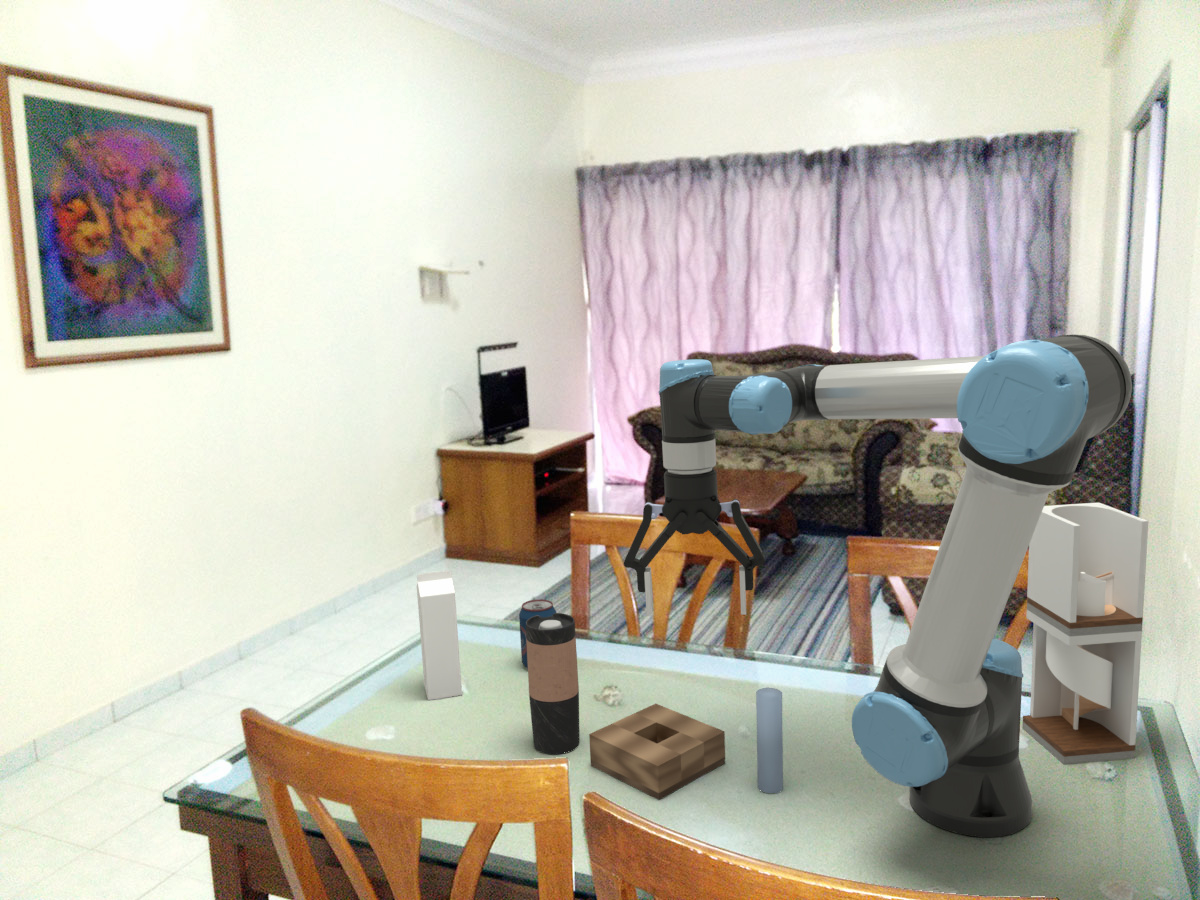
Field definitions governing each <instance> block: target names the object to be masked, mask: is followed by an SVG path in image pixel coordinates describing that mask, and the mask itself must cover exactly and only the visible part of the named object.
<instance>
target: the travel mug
mask: <svg viewBox="0 0 1200 900" xmlns="http://www.w3.org/2000/svg"><path fill="white" fill-rule="evenodd" d="M575 621H576V620H575V618H574V617H573V616H571V615H570V614H566V613H561V612H556V613H554V614H553V615H552V616H549V617H540V616H539V615H536V616H533V617H531V618H529V619H528V620H527V621H526V640H527V661H528V669H527V677H528V682H527V683H528V697H529V707H530V708H529V710H530V718H531V730H532V740H533V747H534V749H535V750H536V751H537V752H539V753H541V754H545V755H563V754H567V753H569V752H568V751H570V752H572V751H574V750H575V748H576V747H577V746H579V745H580V688H579V687H580V686H579V672H578V671H579V670H578V669H579V668H578V655H577V654H578V653H577V638H576V624H575V623H576V622H575ZM577 748H578V747H577ZM577 748H576V749H577ZM573 749H574V750H573ZM571 750H572V751H571ZM564 752H565V753H564ZM566 752H567V753H566Z"/></svg>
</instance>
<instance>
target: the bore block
mask: <svg viewBox="0 0 1200 900" xmlns="http://www.w3.org/2000/svg"><path fill="white" fill-rule="evenodd" d="M725 735H726V734H725V731H724V730H722V729H719V728H717V727H715V726H712V725H711V724H710V725H709V724H707V723H705V722H704V721H703V722H702V721H700V720H697V719H696V718H692V717H690V716H687V715H685V714H683V713H680V712H678V711H675V710H673V709H670V708H668V707H666V706H663V705H660V704H658V703H654V704H652V705H650V706H647V707H645V708H643V709H641V710H639V711H636V712H634V713H631V714H629V715H627V716H625V717H623V718H621V719H619V720H617V721H615V722H612V723H610V724H608V725H606V726H603V727H602V728H599V729H597V730H595V731H593V732H590V733H589V735H588V736H589V737H588V738H589V755H590V756H589V757H590V766H591V767H593V768H594V769H597V770H599V771H601V772H603V773H605V774H607V775H609V776H610V777H612V778H615V779H617V780H619V781H621V782H623V783H625V784H626V785H628V786H630V787H632V788H635V789H636V790H639V791H640V792H643V793H645V794H646V795H649V796H651V797H652V798H655V799H656V800H658V801H659V800H662V799H664V798H665V797H666V796H668V795H670V794H672V793H674V792H676V791H678V790H680V789H681V788H683V787H685V786H687V785H688V783H689V784H690V783H692V782H694V781H696V780H697V779H699V778H701V777H703V776H704V775H707V774H709V773H710V772H712V771H713V770H715V769H718V768H719V767H720V766H723V765H724V764H726V738H725V737H726V736H725ZM693 780H694V781H693ZM684 785H685V786H684ZM679 788H680V789H679Z"/></svg>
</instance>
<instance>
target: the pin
mask: <svg viewBox="0 0 1200 900" xmlns="http://www.w3.org/2000/svg"><path fill="white" fill-rule="evenodd" d="M755 697H756V699H755V701H756V703H755V705H756V707H755V708H756V712H755V713H756V759H757V760H756V764H757V765H756V767H757V768H756V770H757V772H756V773H757V780H756V781H757V790H758V791H760V790H761V791H763V792H766V793H765V794H767V793H776V794H779V793H781V792H782V791H783V789H784V762H783V761H784V760H783V759H784V755H783V754H784V753H783V751H784V749H783V748H784V746H783V745H784V744H783V741H784V739H783V736H784V735H783V692H782V691H781V690H780V689H778V688H774V687H762V688H759V689H757V690H756V693H755ZM761 791H760V792H761ZM780 791H781V792H780ZM763 792H762V793H763Z"/></svg>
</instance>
